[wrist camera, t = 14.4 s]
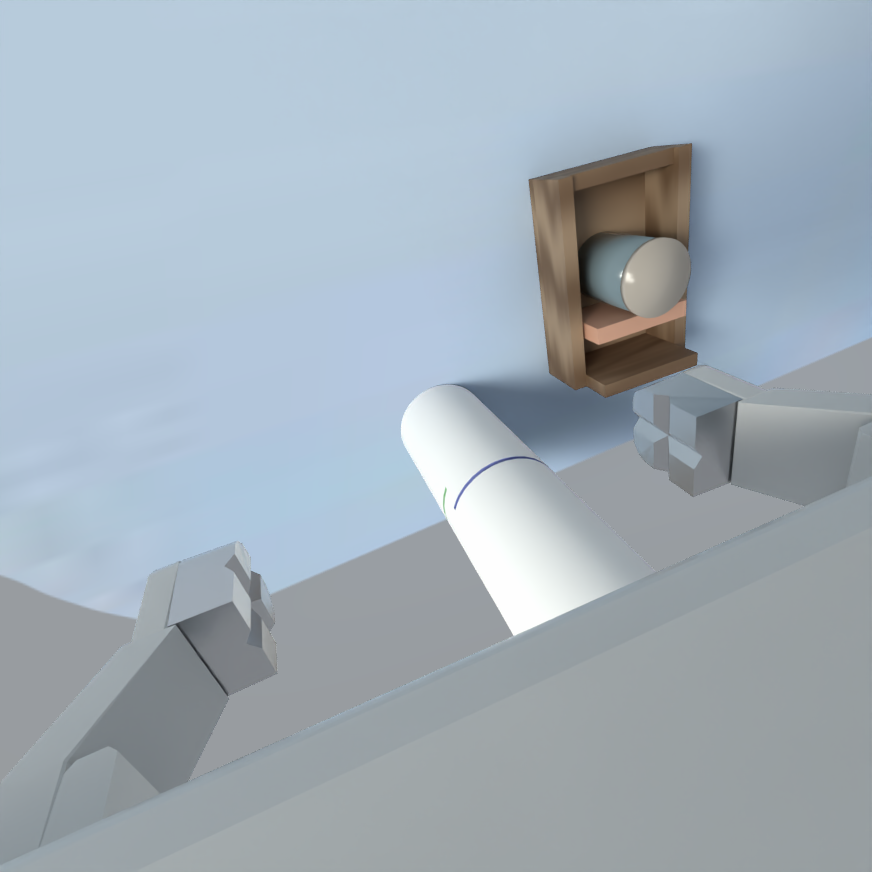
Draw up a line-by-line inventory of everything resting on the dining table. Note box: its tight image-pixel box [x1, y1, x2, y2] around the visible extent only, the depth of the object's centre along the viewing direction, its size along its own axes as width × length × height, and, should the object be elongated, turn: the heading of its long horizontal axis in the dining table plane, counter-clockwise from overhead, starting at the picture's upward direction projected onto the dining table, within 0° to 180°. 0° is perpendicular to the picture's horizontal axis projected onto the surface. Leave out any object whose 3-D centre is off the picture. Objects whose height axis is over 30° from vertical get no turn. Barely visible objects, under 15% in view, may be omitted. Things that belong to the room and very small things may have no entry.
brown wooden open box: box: [529, 143, 698, 398], centre depth 38 cm, size 15×10×7 cm, turn 12°
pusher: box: [581, 298, 686, 345], centre depth 39 cm, size 1×7×5 cm, turn 102°
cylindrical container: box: [401, 384, 656, 636], centre depth 32 cm, size 7×7×25 cm
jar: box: [578, 231, 691, 318], centre depth 37 cm, size 5×5×6 cm
